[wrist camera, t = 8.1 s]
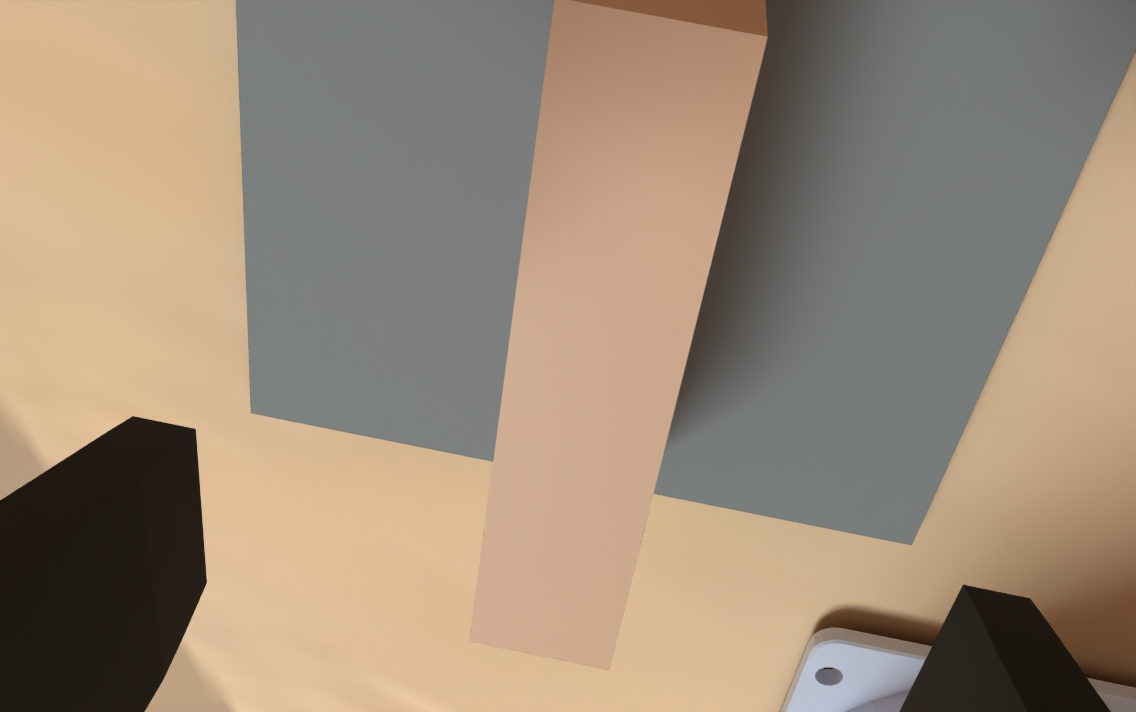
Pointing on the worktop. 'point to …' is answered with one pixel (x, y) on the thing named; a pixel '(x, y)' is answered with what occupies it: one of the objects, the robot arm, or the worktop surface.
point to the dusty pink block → (607, 305)
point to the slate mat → (743, 249)
